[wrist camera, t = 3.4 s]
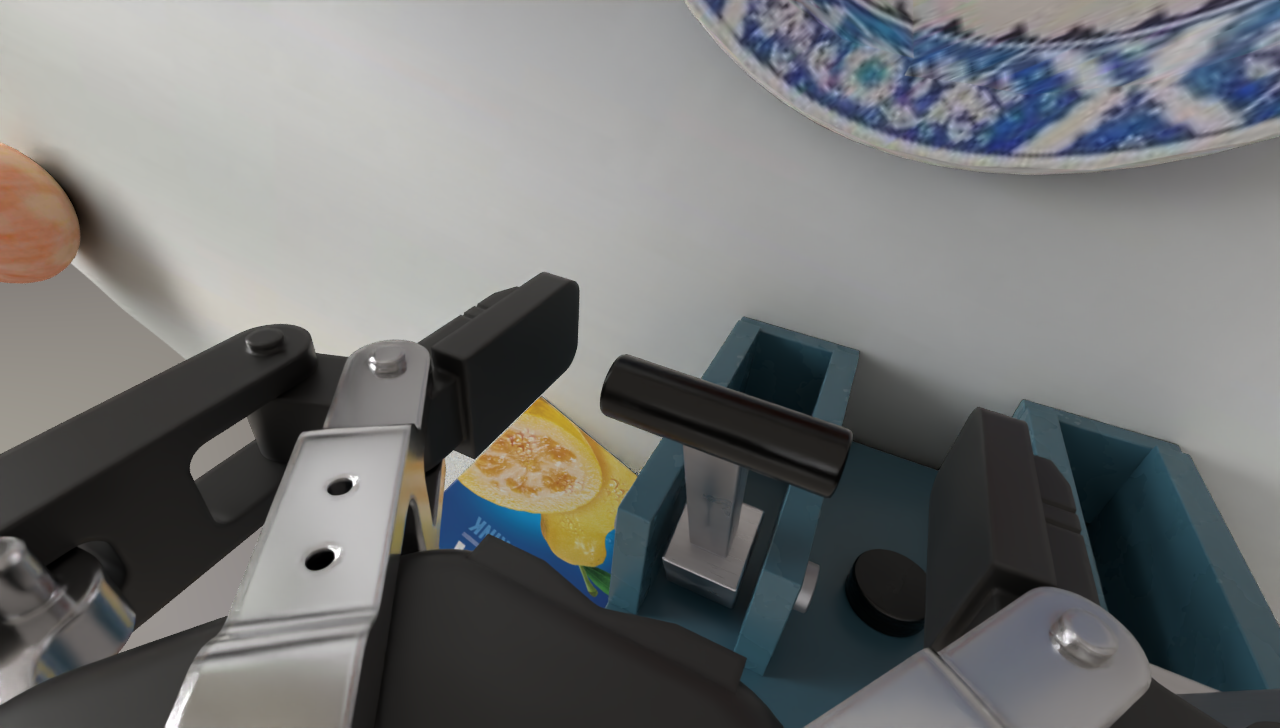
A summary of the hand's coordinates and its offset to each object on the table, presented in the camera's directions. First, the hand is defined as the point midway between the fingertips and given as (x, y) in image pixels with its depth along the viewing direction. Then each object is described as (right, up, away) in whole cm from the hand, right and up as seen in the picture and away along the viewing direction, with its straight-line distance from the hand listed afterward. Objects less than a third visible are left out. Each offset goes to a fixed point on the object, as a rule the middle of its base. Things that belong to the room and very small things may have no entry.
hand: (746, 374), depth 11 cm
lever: (0, -2, +3) cm, 4 cm away
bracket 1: (+4, 0, +14) cm, 14 cm away
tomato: (-48, +13, +34) cm, 60 cm away
